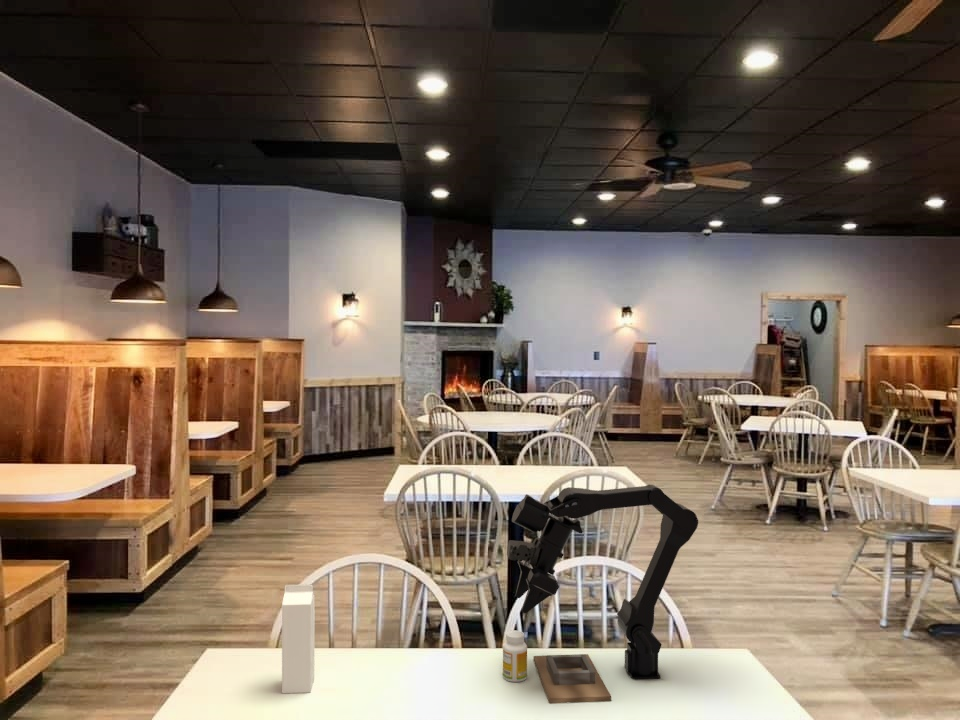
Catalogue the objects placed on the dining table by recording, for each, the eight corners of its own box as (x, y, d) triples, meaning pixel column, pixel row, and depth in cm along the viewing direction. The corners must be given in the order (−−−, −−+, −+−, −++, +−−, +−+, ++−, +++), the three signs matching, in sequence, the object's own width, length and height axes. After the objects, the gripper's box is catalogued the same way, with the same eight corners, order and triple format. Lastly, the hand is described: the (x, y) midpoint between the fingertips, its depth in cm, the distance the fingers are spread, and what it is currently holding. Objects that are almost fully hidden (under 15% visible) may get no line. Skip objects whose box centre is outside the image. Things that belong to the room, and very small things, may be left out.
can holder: (588, 658, 167) (588, 643, 167) (611, 700, 147) (611, 684, 147) (533, 660, 166) (533, 645, 166) (549, 703, 146) (549, 686, 146)
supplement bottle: (527, 672, 160) (527, 629, 160) (526, 683, 155) (527, 639, 154) (503, 670, 161) (503, 628, 160) (501, 682, 155) (502, 638, 155)
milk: (286, 680, 155) (286, 580, 155) (314, 679, 156) (314, 579, 155) (281, 694, 149) (281, 589, 149) (311, 693, 150) (310, 588, 149)
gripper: (514, 515, 166) (484, 575, 166) (526, 537, 148) (492, 604, 147) (556, 536, 167) (526, 595, 167) (573, 560, 149) (539, 627, 148)
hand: (520, 604), depth 157 cm, fingers open, 9 cm apart
